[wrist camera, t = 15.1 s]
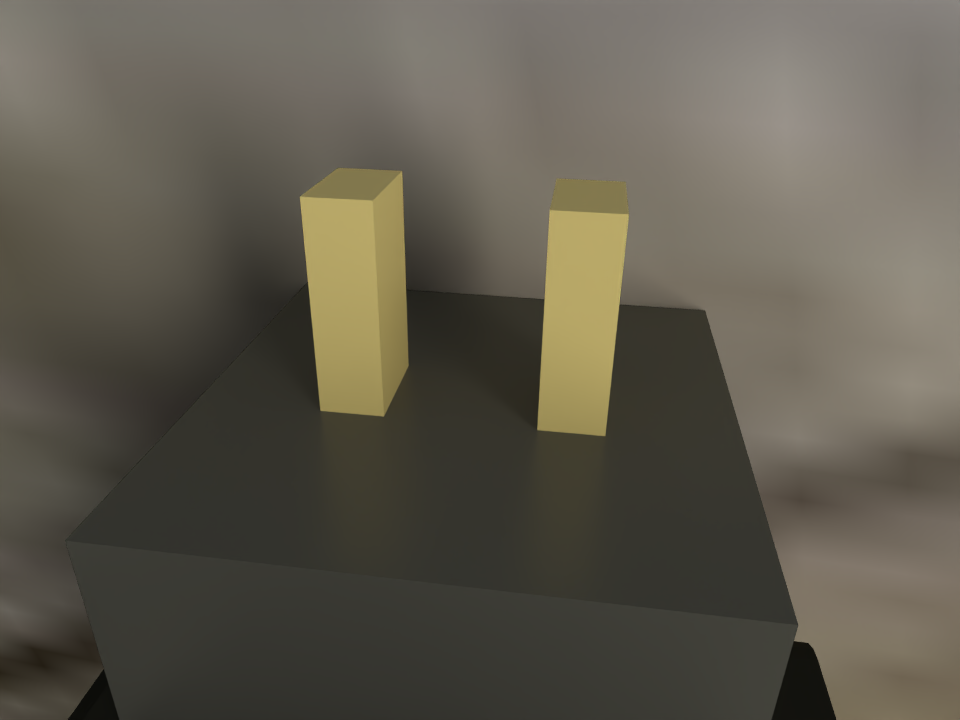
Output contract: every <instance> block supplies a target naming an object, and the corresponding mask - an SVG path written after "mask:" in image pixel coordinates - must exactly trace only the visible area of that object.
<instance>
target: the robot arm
mask: <svg viewBox="0 0 960 720" xmlns="http://www.w3.org/2000/svg"><path fill="white" fill-rule="evenodd" d="M68 720H119V717H118V713H117V710H116V707H115V703H114V700H113V697H112V694H111V690H110V687H109V684H108V680H107V677H106V674H105V671H104V670H103V671H102V672H101V674H100V675H99V677H98V678H97V679H96V681H95V682H94V684H93V685H92V687H91V688H90V689H89V691H88V692H87V694H86V695H85V696H84V698H83V699H82V701H81V702H80V703H79V705H78V706H77V708H76V709H75V710H74V712H73V713H72V715H71V716H70V717H69V719H68ZM771 720H836V717H835V714H834V711H833V707H832V704H831V701H830V698H829V694H828V691H827V688H826V685H825V682H824V678H823V675H822V672H821V669H820V666H819V662H818V659H817V657H816V654H815V652H814V650H813V648H812V647H811V646H810V645H809V643H804V642H796V641H794V642H793V645H792V649H791V652H790V656H789V659H788V663H787V667H786V670H785V674H784V677H783V681H782V684H781V688H780V691H779V695H778V698H777V702H776V705H775V709H774V712H773V716H772V719H771Z"/></svg>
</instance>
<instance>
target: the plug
mask: <svg viewBox="0 0 960 720" xmlns="http://www.w3.org/2000/svg"><path fill="white" fill-rule="evenodd" d="M300 203H301V214H302V224H303V235H304V245H305V255H306V266H307V276H308V284H306V285H305V286H304V287H303V288H302V289H301V290H300V291H299V292H298V293H297V294H296V295H295V297H294V298H293V299H292V300H291V301H290V302H289V303H288V304H287V305H286V306H285V307H284V308H283V309H282V310H281V311H280V313H279V314H278V315H277V316H276V317H275V318H274V319H273V320H272V321H271V322H270V323H269V324H268V325H267V326H266V327H265V328H264V330H263V331H262V332H261V333H260V334H259V335H258V336H257V337H256V338H255V339H254V340H253V341H252V342H251V343H250V344H249V345H248V347H247V348H246V349H245V350H244V351H243V352H242V353H241V354H240V355H239V356H238V357H237V358H236V359H235V360H234V361H233V363H232V364H231V365H230V366H229V367H228V368H227V369H226V370H225V371H224V372H223V373H222V374H221V375H220V376H219V377H218V378H217V380H216V381H215V382H214V383H213V384H212V385H211V386H210V387H209V388H208V389H207V390H206V391H205V392H204V393H203V394H202V396H201V397H200V398H199V399H198V400H197V401H196V402H195V403H194V404H193V405H192V406H191V407H190V408H189V409H188V410H187V411H186V413H185V414H184V415H183V416H182V417H181V418H180V419H179V420H178V421H177V422H176V423H175V424H174V425H173V426H172V427H171V428H170V430H169V431H168V432H167V433H166V434H165V435H164V436H163V437H162V438H161V439H160V440H159V441H158V442H157V443H156V444H155V446H154V447H153V448H152V449H151V450H150V451H149V452H148V453H147V454H146V455H145V456H144V457H143V458H142V459H141V460H140V461H139V463H138V464H137V465H136V466H135V467H134V468H133V469H132V470H131V471H130V472H129V473H128V474H127V475H126V476H125V477H124V478H123V480H122V481H121V482H120V483H119V484H118V485H117V486H116V487H115V488H114V489H113V490H112V491H111V492H110V493H109V494H108V496H107V497H106V498H105V499H104V500H103V501H102V502H101V503H100V504H99V505H98V506H97V507H96V508H95V509H94V510H93V511H92V513H91V514H90V515H89V516H88V517H87V518H86V519H85V520H84V521H83V522H82V523H81V524H80V525H79V526H78V527H77V528H76V530H75V531H74V532H73V533H72V534H71V535H70V536H69V537H68V538H67V539H66V540H65V542H66V546H67V549H68V552H69V555H70V559H71V562H72V565H73V569H74V572H75V575H76V578H77V582H78V585H79V588H80V592H81V595H82V598H83V601H84V605H85V608H86V611H87V615H88V618H89V621H90V625H91V628H92V631H93V634H94V638H95V641H96V644H97V648H98V651H99V654H100V657H101V661H102V664H103V667H104V671H105V674H106V677H107V680H108V684H109V687H110V690H111V694H112V697H113V700H114V703H115V707H116V710H117V713H118V717H119V720H771V719H772V716H773V712H774V709H775V705H776V702H777V698H778V695H779V691H780V688H781V684H782V681H783V677H784V674H785V670H786V667H787V663H788V659H789V656H790V652H791V649H792V645H793V642H794V638H795V635H796V631H797V628H798V623H797V619H796V616H795V613H794V609H793V606H792V603H791V599H790V596H789V592H788V589H787V586H786V582H785V579H784V576H783V572H782V569H781V565H780V562H779V559H778V555H777V552H776V549H775V545H774V542H773V538H772V535H771V532H770V528H769V525H768V522H767V518H766V515H765V511H764V508H763V505H762V501H761V498H760V495H759V491H758V488H757V484H756V481H755V478H754V474H753V471H752V468H751V464H750V461H749V457H748V454H747V451H746V447H745V444H744V441H743V437H742V434H741V430H740V427H739V424H738V420H737V417H736V414H735V410H734V407H733V403H732V400H731V397H730V393H729V390H728V387H727V383H726V380H725V376H724V373H723V370H722V366H721V363H720V360H719V356H718V353H717V349H716V346H715V343H714V339H713V336H712V333H711V329H710V326H709V322H708V319H707V316H706V312H705V311H702V310H688V309H673V308H658V307H644V306H629V305H619V303H620V293H621V284H622V274H623V265H624V256H625V246H626V237H627V227H628V218H629V211H628V201H627V191H626V182H617V181H597V180H576V179H557V180H556V185H555V189H554V194H553V198H552V203H551V207H550V216H549V233H548V251H547V268H546V286H545V300H541V299H527V298H512V297H497V296H483V295H468V294H454V293H439V292H424V291H410V290H406V272H405V242H404V212H403V181H402V171H393V170H372V169H352V168H337V169H336V170H335V171H333V172H332V173H331V174H329V175H328V176H327V177H325V178H324V179H323V180H321V181H320V182H319V183H317V184H316V185H315V186H313V187H312V188H311V189H309V190H308V191H307V192H305V193H304V194H303V195H301V196H300Z"/></svg>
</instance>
